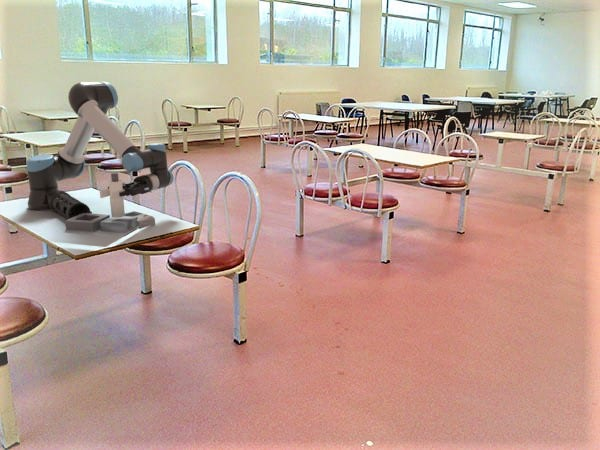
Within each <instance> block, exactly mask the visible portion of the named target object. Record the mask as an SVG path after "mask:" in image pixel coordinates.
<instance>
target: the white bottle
mask: <svg viewBox="0 0 600 450" xmlns="http://www.w3.org/2000/svg"><path fill="white" fill-rule="evenodd" d="M110 177H111V180H108V181H107V182H108V187H109V194H110V196H109V205H110V217H111V216H112V217H114V218H119V217H124V216H125V213H126V212H125V202H124V197H121V198H117V199H114V200H112V194H111V193H112V192H115V191H118V190H122V189H123V187H122V182H123V180H121V179H119V173H118V172H111V173H110Z"/></svg>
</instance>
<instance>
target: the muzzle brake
mask: <svg viewBox="0 0 600 450" xmlns="http://www.w3.org/2000/svg"><path fill="white" fill-rule="evenodd" d="M58 190H59V189H58ZM48 205H49V207H50V208H51V209H50V210H52V211H54V212H56V213H59V215H61V216H62V217H64V218H65V219H66V220H68V219H70V218H72V216H71V214H74V215H75V216H77V215H79V214H82V213H92V214H93V212H92V211H91V209H90V207H89V206H88V205H87V204H86V203H84V202H82V201H80V200H78V199H77V198H75V197H74V196H71V195H70V194H69V193H68V192H66V191H63V190H59V191H55V192H53V193H51V194H50V195H49V197H48Z"/></svg>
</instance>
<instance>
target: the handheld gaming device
mask: <svg viewBox="0 0 600 450" xmlns="http://www.w3.org/2000/svg"><path fill="white" fill-rule="evenodd" d="M125 216H130V217H137V226H139V227H138V230H141V229H143V228H147V227H151V226H154V225H156V218H155V217H154V216H153V215H149V214H146V213H142V212H138V211H136V210H134V211H128V212H125Z"/></svg>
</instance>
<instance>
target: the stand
mask: <svg viewBox="0 0 600 450" xmlns="http://www.w3.org/2000/svg"><path fill="white" fill-rule="evenodd" d="M100 226H101V228H100V231H101V232H112V233H122V234H125V233H127V232H128V231H130V230H131V229H134V228H135V227H137V226H138V225H137V217H130V216H124V217H119V218H114V217H112V216H111V215H110V217H109V218H107V219H105V220H103V221H101V222H100ZM136 230H137V228H135V229H134V230H132V231H130V232H128V233H127V234H125V235H124V237H126V236H127V235H128V236H129V235H130V234H131V233H133V232H134V231H136Z"/></svg>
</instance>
